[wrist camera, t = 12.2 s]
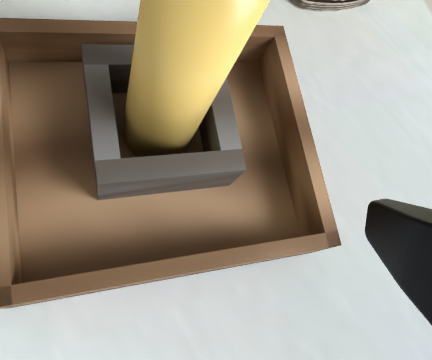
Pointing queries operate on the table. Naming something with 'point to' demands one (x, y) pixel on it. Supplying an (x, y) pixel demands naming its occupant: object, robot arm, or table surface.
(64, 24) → the walled box
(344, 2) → the lighter
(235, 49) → the plug
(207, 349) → the table surface
